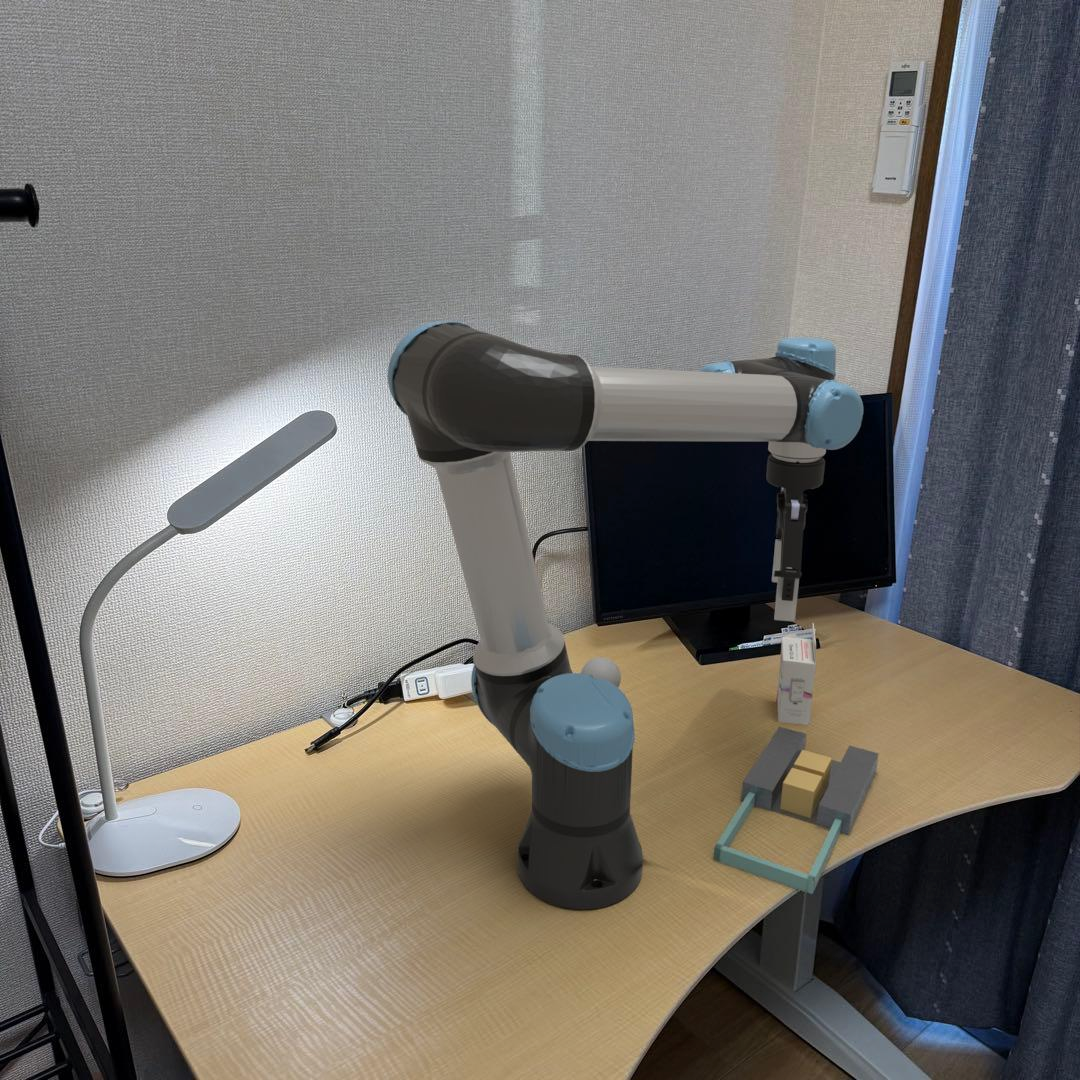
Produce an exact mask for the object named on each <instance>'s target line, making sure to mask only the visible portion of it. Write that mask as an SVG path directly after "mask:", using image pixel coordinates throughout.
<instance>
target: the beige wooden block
mask: <svg viewBox="0 0 1080 1080" xmlns="http://www.w3.org/2000/svg"><path fill="white" fill-rule="evenodd" d="M832 760H833V758H832V757H829V756H826V755H823V754H819V753H815V752H812V751H808V750H806V749H805V750H802V751H801V753H800V755H799V757H798V758H797V760H796V762H795V763H794V768H795V769H798V770H802V771H805V772H809V773H812V774H816V775H819V776H822V782H821V790H820V798H821V797H822V796H823V794H824V792H825V790H826V788H827V786H828V784H829V778H830V770H831V762H832Z"/></svg>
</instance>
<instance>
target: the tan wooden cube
mask: <svg viewBox="0 0 1080 1080" xmlns="http://www.w3.org/2000/svg"><path fill="white" fill-rule="evenodd" d="M821 782H822V776H819V775H816V774H812V773H809V772H805V771H802V770H798V769H795V768H791V770H790V772H789V774H788V775H787V777H786V779H785V780H784V782H783V788H782V798H781V807H780V809H783V810H786V811H789V812H792V813H795V814H799V815H802V816H805V817H808V818H811V817H812V815H813V813H814V811H815V809H816V807H817V805H818V803H819V799H820V790H821Z"/></svg>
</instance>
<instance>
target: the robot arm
mask: <svg viewBox="0 0 1080 1080" xmlns="http://www.w3.org/2000/svg"><path fill="white" fill-rule="evenodd" d="M836 355H837V350H836V346H835V344H834V343H833V342H832V341H830V340H827V339H824V338H823V339H822V338H818V337H806V336H805V337H802V336H799V337H797V336H796V337H794V336H793V337H787V338H784V339H781V340H780V341H778V344H777V348H776V352H775V356H773V357H767V358H754V359H753V358H752V359H743V360H727V359H726V360H723V361H720V362H715V363H710V364H709V363H708V364H706V365H705V366H703V367H702V368H701V369H699V371H696V370H694V371H693V370H674V369H656V368H655V369H654V368H653V369H652V368H636V367H635V368H634V367H632V368H631V367H618V366H617V367H615V366H613V367H611V366H593V365H590V364H589V362H588V361H587V360H586V359H585V358H584V357H583V356H581V355H578V354H563V353H562V354H561V353H554V352H550V351H544V350H541V349H537V348H533V347H529V346H526V345H524V344H521V343H519V342H514V341H512V340H509V339H507V338H504V337H502V336H498V335H494V334H492V333H491V334H490V333H487V332H484V331H482V330H478V329H475V328H473V327H472V326H470V325H468V324H466V323H464V322H460V321H459V322H458V321H449V320H448V321H444V320H443V321H432V322H428V323H427V322H426V323H424V324H421V325H419V326H417V327H415V328H414V329H411V330H410V332H408V333H407V334H406V335H405V336H404V337H402V338H401V340H400V341H398V344H397V346H396V347H395V349H394V351H393V353H392V354H391V356H390V358H389V363H388V368H387V384H388V389H389V392H390V395H391V396H392V399H393V400H394V402H395V404H396V406H397V407H398V409H399V410H400V411H401V412H402V413H403V414H404V415H405V416H407V420H408V423H409V428H410V430H411V435H412V438H413V441H414V445H415V448H416V452H417V456H418V458H419V460H420V461H422V462H423V463H425V464H426V465H428V466H430V467H432V468H434V469H435V471H436V474H437V479H438V482H439V486H440V490H441V495H442V498H443V502H444V505H445V510H446V513H447V517H448V521H449V525H450V528H451V531H452V536H453V539H454V544H455V546H456V547H455V548H456V552H457V555H458V558H459V562H460V566H461V570H462V573H463V578H464V581H465V582H464V583H465V585H466V589H467V592H468V597H469V600H470V604H471V608H472V613H473V616H474V619H475V623H476V627H477V631H478V635H479V638H480V641H479V642H478V643H477V644H476V645H475V648H474V649H473V653H472V660H473V667H472V672H471V679H470V681H471V683H470V684H471V691H472V695H473V697H474V699H475V703H477V707H478V708H479V711H480V712H481V714H482V715H483V716H484V718H485V719H486V720H487V721H488V722H489V723H490V724H492V725H493V726H494V727H495V728H496V729H497V730H498V732H499V733H500V734H501V736H502V737H503V738H504V739H505V740H506V741H507V742H508V743H509V744H510V746H511V747H512V748H513V749H514V751H516V753H517V754H518V756H519V757H521V759H522V760H523V761H524V763H526V765H527V766H528V768H529V769H530V773H531V811H530V814H529V817H528V819H527V822H526V825H525V827H524V830H523V832H522V835H521V838H520V841H519V843H518V845H517V846H518V847H517V873H518V877H519V878H520V881H521V882H522V884H523V886H524V887H525V888H526V889H527V890H528V891H529V892H530V893H531V894H532V895H534V896H535V897H537V898H538V899H540V900H542V901H544V902H546V903H548V904H550V905H553V906H557V907H560V908H563V909H564V908H565V909H572V910H592V909H599V908H603V907H608V906H611V905H613V904H616V903H619V902H620V901H622V900H623V899H625V898H627V897H628V896H629V895H630V894H632V893H633V892H634V891H635V890H636V888H637V887H638V885H639V883H640V881H641V878H642V875H643V864H644V863H643V860H644V859H643V857H644V856H643V855H644V854H643V848H642V844H641V842H640V841H639V840H640V839H639V836H638V834H637V831H636V827H635V825H634V822H633V821H634V820H633V819H632V816H631V800H632V799H631V796H632V793H631V792H632V773H633V769H632V768H633V755H634V753H633V751H634V749H633V748H634V743H635V737H636V734H635V732H636V731H635V723H634V714H633V708H632V705H631V703H630V700H629V698H628V697H627V696H626V694H625V693H624V692H623V690H621V688H619V687H617V686H615V685H614V684H612V683H611V682H609V681H607V680H605V679H602V678H598V679H593V677H592V675H588V674H582V673H581V672H580V673H577V672H573V670H572V668H571V664H570V660H569V655H568V651H567V646H566V641H565V636H564V635H563V632H562V631H561V630H560V628H558V627H556V626H555V625H552V624H551V623H549V621H548V617H547V612H546V608H545V603H544V599H543V595H542V591H541V586H540V581H539V576H538V573H537V567H536V564H535V559H534V555H533V550H532V545H531V541H530V537H529V532H528V529H527V524H526V523H527V522H526V519H525V516H524V515H525V514H524V511H523V506H522V502H521V501H522V500H521V497H520V493H519V488H518V483H517V479H516V474H515V471H514V465H513V461H512V456H511V453H512V452H513V453H515V452H516V453H517V452H522V453H523V452H526V453H527V452H555V451H557V452H571V451H572V452H575V451H578V450H580V449H581V448H583V447H584V446H585V445H586V444H587V442H590V441H591V442H594V441H595V442H601V441H602V442H604V441H605V442H607V441H608V442H618V441H619V442H768V448H767V450H768V451H769V452H770V454H769V455H768V457H767V461H766V462H767V463H766V474H765V475H766V476H765V478H766V481H767V482H768V483H769V484H770V485H772V486H774V487H777V488H780V492H777V495H776V505H777V506H776V507H777V508H776V513H777V518H776V524H775V528H776V529H775V530H776V531H775V537H776V538H777V539H775V540H774V541H775V542H774V554H773V564H772V574H771V582H772V583H776V584H777V585H776V594H775V604H774V605H775V608H774V616H773V617H774V618H773V619H774V621H781V622H782V621H784V622H795V621H796V613H797V606H798V605H797V604H798V596H799V595H798V594H799V584H800V579H801V578H802V558H803V557H802V556H803V543H804V541H803V540H804V530H805V527H806V513H807V511H808V509H809V500H808V494H804V492H805V491H807V490H813V489H818V488H819V487H820V486H821V485H823V483H824V476H825V475H824V474H825V468H826V467H825V466H826V460H825V458H824V456H825V454H826V453H827V450H828V451H829V450H831V451H834V450H839V449H842V448H844V447H845V446H847V445H848V444H849V443H851V441H852V440H854V438H855V437H856V436H857V434H858V433H859V431H860V428H861V426H862V421H863V415H864V404H863V401H862V398H861V395H860V394H859V393H858V391H857V390H856V389H855V388H853V387H852V386H849V385H846V384H844V383H841V382H838V381H837V380H835V378H836V374H837V372H836V363H837V362H836V361H837V356H836ZM510 452H511V453H510Z"/></svg>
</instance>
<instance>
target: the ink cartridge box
mask: <svg viewBox="0 0 1080 1080" xmlns="http://www.w3.org/2000/svg"><path fill="white" fill-rule="evenodd" d="M811 624H812V625H811V626H812V629H811V630H812V634H811V635H812V639H811V638H803V637H802V638H799V637H789V636H782V638H781V646H780V656H779V657H780V658H779V659H780V660H779V669H778V670H779V671H778V672H779V673H778V681H777V689H776V690H777V691H776V703H777V719H778V721H777V722H778V723H783V724H787V723H788V724H796V725H807V726H810V725H811V724H810V723H811V718H812V717H811V716H812V705H813V698H814V697H813V696H814V695H813V694H814V687H815V677H816V668H817V641H816V639H817V638H816V630H815V624H814V622H812V623H811Z"/></svg>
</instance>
